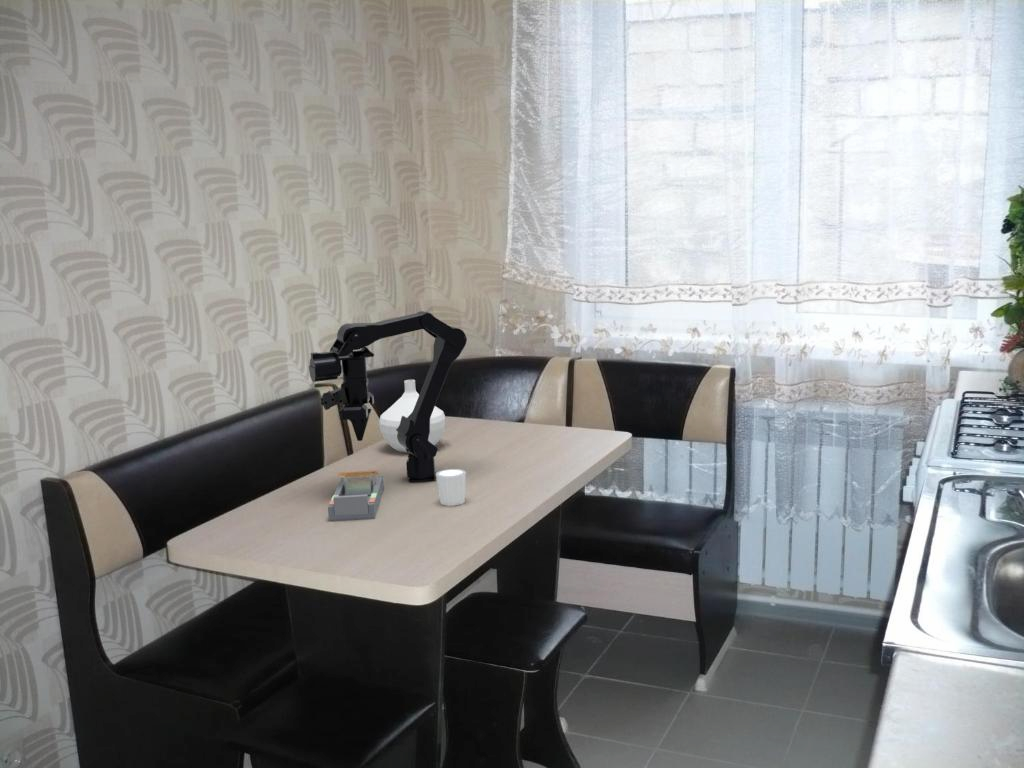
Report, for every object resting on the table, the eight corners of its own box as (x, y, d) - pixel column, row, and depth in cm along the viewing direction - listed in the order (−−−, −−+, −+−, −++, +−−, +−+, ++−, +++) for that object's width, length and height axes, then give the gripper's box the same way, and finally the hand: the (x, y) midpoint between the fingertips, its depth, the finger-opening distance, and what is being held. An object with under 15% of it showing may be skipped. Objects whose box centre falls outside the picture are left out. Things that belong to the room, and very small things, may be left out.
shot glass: (472, 498, 245) (470, 469, 243) (461, 507, 238) (459, 477, 237) (444, 496, 247) (442, 467, 246) (433, 505, 241) (431, 476, 239)
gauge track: (384, 488, 256) (382, 467, 255) (374, 518, 233) (372, 495, 232) (342, 490, 256) (340, 470, 255) (329, 520, 233) (327, 498, 232)
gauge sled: (380, 488, 251) (378, 468, 250) (378, 494, 246) (376, 473, 245) (341, 490, 251) (339, 470, 250) (338, 496, 246) (336, 476, 245)
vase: (460, 443, 296) (456, 376, 292) (420, 459, 281) (415, 389, 277) (408, 437, 306) (403, 372, 302) (367, 453, 291) (362, 384, 287)
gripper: (326, 371, 261) (331, 433, 264) (314, 386, 242) (320, 452, 245) (371, 369, 261) (376, 430, 264) (363, 383, 243) (368, 449, 246)
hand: (359, 440), depth 255 cm, fingers closed
